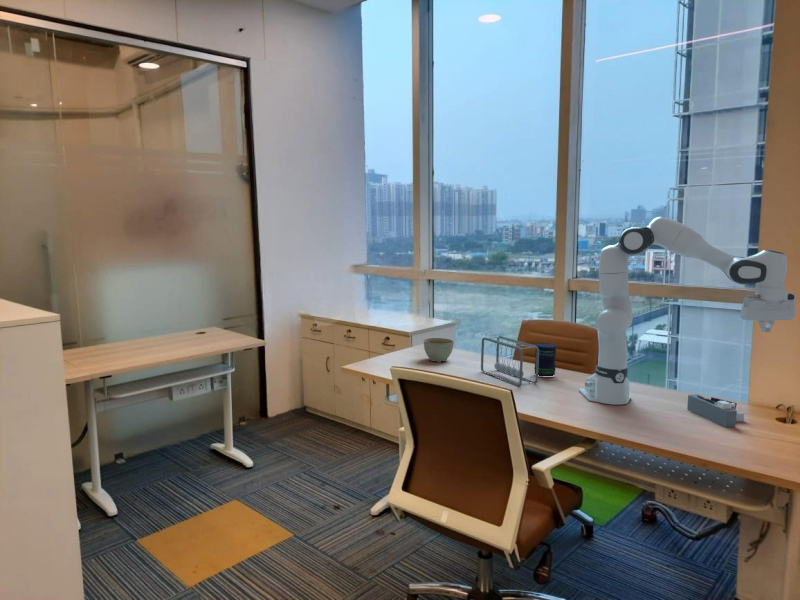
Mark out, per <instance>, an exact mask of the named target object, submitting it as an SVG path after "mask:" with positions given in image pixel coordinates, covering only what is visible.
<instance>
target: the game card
mask: <svg viewBox="0 0 800 600" xmlns="http://www.w3.org/2000/svg"><path fill="white" fill-rule="evenodd" d="M710 400H712V401H714V402H717V401H726V402H729V403H731V406H730V408H731V409H734V410H736V408H737V402H732V401H729V400H725V399H720V398H716V397H710Z"/></svg>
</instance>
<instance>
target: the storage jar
mask: <svg viewBox="0 0 800 600" xmlns="http://www.w3.org/2000/svg"><path fill="white" fill-rule="evenodd" d="M535 346H537V347H538V348H539V368H538V375H539V376H553V375H555V374H556V358H557V344H554V343H550V342H549V343H548V342H538V343H535ZM534 352H535V354H534V356H535V357H536V356H537V350H536V348H534ZM533 368H534V369H533V370H534V373H535V374H536V360H535V363H534V367H533ZM555 376H556V375H555Z"/></svg>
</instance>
